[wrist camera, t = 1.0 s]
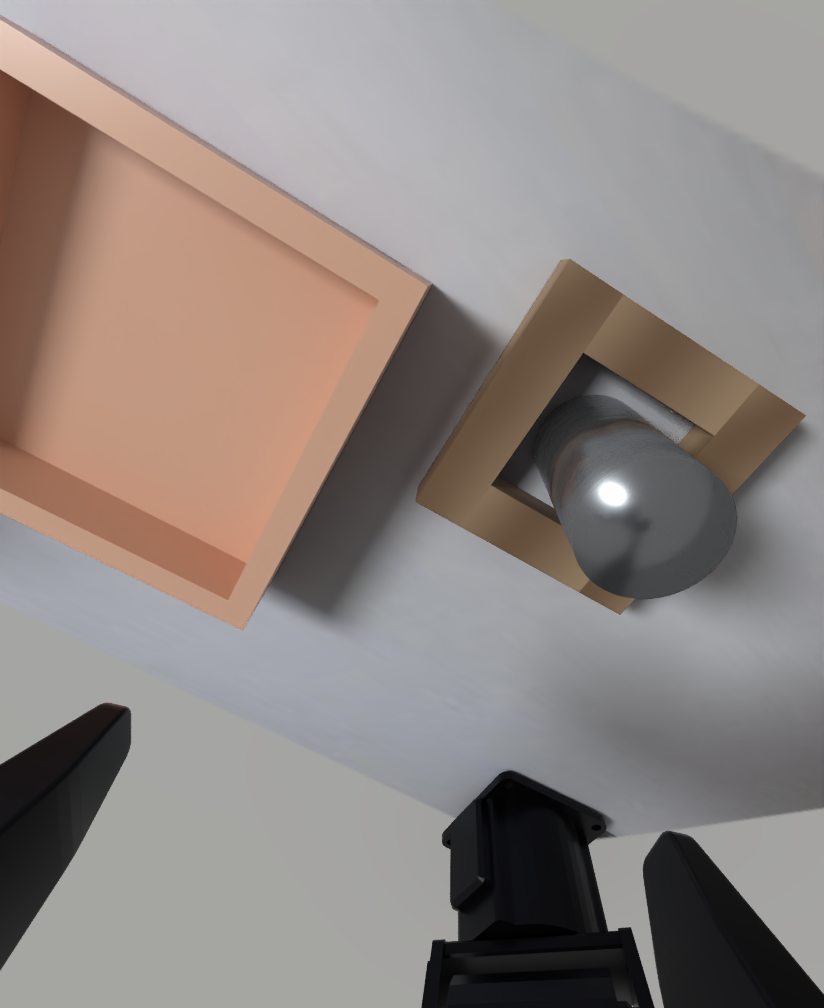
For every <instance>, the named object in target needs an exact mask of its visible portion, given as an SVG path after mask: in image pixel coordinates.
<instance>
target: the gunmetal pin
mask: <svg viewBox="0 0 824 1008" xmlns="http://www.w3.org/2000/svg"><path fill="white" fill-rule="evenodd" d="M534 454H535V461H536V465H537V468H538V470H539V473H540V475H541V477H542V480H543V482H544V484H545V487H546V489H547V491H548V494H549V496H550V499H551V501H552V503H553V506H554V508H555V510H556V513H557V515H558V517H559V520H560V522H561V525H562V527H563V529H564V532H565V534H566V536H567V539H568V541H569V544H570V546H571V548H572V551H573V553H574V555H575V558H576V560H577V562H578V565H579V566H580V568H581V570H582V571H583V573H584V574H585V575H586V576H587V577H588V578H589V579H590V580H591V581H592V582H593V583H594V584H596V585H597V586H599V587H600V588H602V589H603V590H606V591H608V592H610V593H612V594H615V595H618V596H622V597H627V598H634V599H652V598H660V597H664V596H668V595H672V594H675V593H678V592H680V591H683V590H685V589H687V588H689V587H691V586H693V585H694V584H696V583H698V582H699V581H701V580H702V579H703V578H705V577H706V576H707V575H708V574H710V573H711V572H712V571H713V570H714V569H715V568H716V567H717V566H718V564H719V563H720V562H721V561H722V559H723V558H724V556H725V555H726V554H727V552H728V550H729V548H730V546H731V544H732V541H733V538H734V535H735V530H736V523H737V514H736V507H735V503H734V500H733V497H732V495H731V493H730V491H729V489H728V488H727V487H726V485H725V484H724V482H723V481H722V480H721V479H720V478H719V477H718V476H716V475H715V474H714V473H713V472H711V471H710V470H709V469H708V468H706V467H705V466H704V465H702V464H701V463H700V462H699V461H697V460H696V459H695V458H693V457H692V456H691V455H690V454H688V453H687V452H686V451H685V450H683V449H682V448H681V447H679V446H678V445H677V444H676V443H674V442H673V441H672V440H670V439H669V438H668V437H667V436H665V435H664V434H663V433H662V432H660V431H659V430H658V429H656V428H655V427H654V426H653V425H651V424H650V423H649V422H647V421H646V420H645V419H644V418H642V417H641V416H640V415H638V414H637V413H636V412H635V411H633V410H632V409H631V408H630V407H628V406H627V405H626V404H624V403H623V402H621V401H619V400H617V399H614V398H612V397H608V396H603V395H587V396H582V397H578V398H575V399H572V400H570V401H568V402H566V403H564V404H562V405H561V406H559V407H558V408H557V409H555V410H554V411H553V412H552V413H551V414H550V415H549V416H548V417H547V419H546V420H545V421H544V423H543V424H542V426H541V428H540V430H539V432H538V434H537V438H536V441H535V449H534Z"/></svg>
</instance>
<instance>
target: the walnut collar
mask: <svg viewBox="0 0 824 1008" xmlns="http://www.w3.org/2000/svg"><path fill="white" fill-rule="evenodd" d="M583 353H585V354H586V355H588V356H589V357H591V358H593V359H594V360H596V361H597V362H599V363H600V364H602V365H604V366H605V367H607V368H608V369H610V370H612V371H613V372H615V373H616V374H618V375H619V376H621V377H623V378H624V379H626V380H627V381H629V382H630V383H632V384H634V385H635V386H637V387H638V388H640V389H641V390H643V391H645V392H646V393H648V394H649V395H651V396H653V397H654V398H656V399H657V400H659V401H660V402H662V403H664V404H665V405H667V406H668V407H670V408H671V409H673V410H675V411H676V412H678V413H679V414H681V415H682V416H684V417H686V418H687V419H689V420H690V421H692V422H693V423H695V425H694V427H693V428H692V429H691V430H690V431H689V432H688V434H687V435H686V436H685V437H684V438H683V440H682V441H681V442H680V443H679V444H678V446H679V447H681V448H682V449H683V450H685V451H686V452H687V453H688V454H690V455H691V456H692V457H693V458H695V459H696V460H697V461H699V462H700V463H701V464H702V465H704V466H705V467H706V468H708V469H709V470H710V471H711V472H713V473H714V474H715V475H716V476H718V477H719V478H720V479H721V480H722V481H723V482H724V484H725V485H726V487H727V488H728V489H729V491H730V493H731V495H732V494H733V493H734V492H735V491H736V490H737V489H738V488H739V487H740V486H741V485H742V484H743V483H744V482H745V480H746V479H747V478H748V477H749V476H750V475H751V474H752V473H753V472H754V471H755V470H756V469H757V468H758V467H759V465H760V464H761V463H762V462H763V461H764V460H765V459H766V458H767V457H768V456H769V455H770V454H771V453H772V452H773V450H774V449H775V448H776V447H777V446H778V445H779V444H780V443H781V442H782V441H783V440H784V439H785V438H786V436H787V435H788V434H789V433H790V432H791V431H792V430H793V429H794V428H795V427H796V426H797V425H798V424H799V423H800V421H801V420H802V419H803V418H804V417H805V416H806V415H804V414H803V413H801V412H800V411H798V410H797V409H795V408H794V407H792V406H791V405H789V404H788V403H786V402H785V401H783V400H782V399H780V398H779V397H777V396H776V395H774V394H773V393H771V392H770V391H768V390H767V389H765V388H764V387H762V386H761V385H759V384H758V383H756V382H755V381H753V380H752V379H750V378H749V377H747V376H746V375H744V374H743V373H741V372H740V371H738V370H737V369H735V368H734V367H732V366H731V365H729V364H728V363H726V362H724V361H723V360H721V359H720V358H718V357H717V356H715V355H714V354H712V353H711V352H709V351H708V350H706V349H705V348H703V347H702V346H700V345H699V344H697V343H696V342H694V341H693V340H691V339H690V338H688V337H687V336H685V335H684V334H682V333H681V332H679V331H678V330H676V329H675V328H673V327H672V326H670V325H669V324H667V323H666V322H664V321H663V320H661V319H660V318H658V317H657V316H655V315H654V314H652V313H651V312H649V311H648V310H646V309H645V308H643V307H642V306H640V305H638V304H637V303H635V302H634V301H632V300H631V299H629V298H628V297H626V296H625V295H623V294H622V293H620V292H619V291H617V290H616V289H614V288H613V287H611V286H610V285H608V284H607V283H605V282H604V281H602V280H601V279H599V278H598V277H596V276H595V275H593V274H592V273H590V272H589V271H587V270H586V269H584V268H583V267H581V266H580V265H578V264H577V263H575V262H574V261H572V260H571V259H568V260H561V261H560V262H559V264H558V266H557V267H556V269H555V270H554V272H553V274H552V275H551V277H550V278H549V280H548V281H547V283H546V285H545V286H544V288H543V289H542V291H541V293H540V294H539V296H538V297H537V299H536V301H535V302H534V304H533V305H532V307H531V308H530V310H529V312H528V313H527V315H526V316H525V318H524V320H523V321H522V323H521V324H520V326H519V328H518V329H517V331H516V332H515V334H514V335H513V337H512V339H511V340H510V342H509V343H508V345H507V347H506V348H505V350H504V351H503V353H502V355H501V356H500V358H499V359H498V361H497V362H496V364H495V366H494V367H493V369H492V370H491V372H490V374H489V375H488V377H487V378H486V380H485V382H484V383H483V385H482V386H481V388H480V389H479V391H478V393H477V394H476V396H475V397H474V399H473V401H472V402H471V404H470V405H469V407H468V409H467V410H466V412H465V413H464V415H463V416H462V418H461V420H460V421H459V423H458V424H457V426H456V428H455V429H454V431H453V432H452V434H451V435H450V437H449V439H448V440H447V442H446V443H445V445H444V447H443V448H442V450H441V451H440V453H439V455H438V456H437V458H436V459H435V461H434V462H433V464H432V466H431V467H430V469H429V470H428V472H427V474H426V475H425V477H424V478H423V480H422V482H421V483H420V485H419V486H418V491H417V497H416V502H417V503H419V504H420V505H422V506H424V507H426V508H428V509H429V510H431V511H433V512H435V513H437V514H439V515H440V516H442V517H444V518H446V519H448V520H449V521H451V522H453V523H455V524H457V525H458V526H460V527H462V528H464V529H466V530H467V531H469V532H471V533H473V534H475V535H476V536H478V537H480V538H482V539H484V540H486V541H487V542H489V543H491V544H493V545H495V546H496V547H498V548H500V549H502V550H504V551H505V552H507V553H509V554H511V555H513V556H514V557H516V558H518V559H520V560H522V561H524V562H525V563H527V564H529V565H531V566H533V567H534V568H536V569H538V570H540V571H542V572H543V573H545V574H547V575H549V576H551V577H552V578H554V579H556V580H558V581H560V582H562V583H563V584H565V585H567V586H569V587H571V588H572V589H574V590H576V591H578V592H580V593H581V594H583V595H585V596H587V597H589V598H590V599H592V600H594V601H596V602H598V603H599V604H601V605H603V606H605V607H607V608H609V609H610V610H612V611H614V612H616V613H618V614H619V615H621V614H622V612H623V611H624V610H625V609H626V608H627V607H628V606H629V605H630V604H631V603H632V602H633V601H634V600H635V599H634V598H627V597H622V596H618V595H615V594H612V593H610V592H608V591H606V590H603V589H602V588H600V587H599V586H597V585H596V584H594V583H593V582H592V581H591V580H590V579H589V578H588V577H587V576H586V575H585V574H584V573H583V571H582V570H581V568H580V566H579V565H578V562H577V560H576V558H575V555H574V553H573V551H572V548H571V546H570V544H569V541H568V539H567V536H566V534H565V532H564V529H563V527H562V525H561V522H560V520H559V517H558V515H557V513H556V510H555V509H554V508H552V507H550V506H549V505H547V504H545V503H543V502H542V501H540V500H538V499H536V498H535V497H533V496H531V495H529V494H528V493H526V492H524V491H523V490H521V489H519V488H517V487H516V486H514V485H512V484H510V483H509V482H507V481H505V480H503V479H502V478H500V477H498V474H499V473H500V471H501V470H502V469H503V467H504V466H505V464H506V463H507V461H508V460H509V459H510V457H511V456H512V454H513V453H514V451H515V450H516V448H517V447H518V446H519V444H520V443H521V441H522V440H523V438H524V437H525V436H526V434H527V433H528V431H529V430H530V428H531V427H532V426H533V424H534V423H535V421H536V420H537V418H538V417H539V415H540V414H541V413H542V411H543V410H544V408H545V407H546V405H547V404H548V403H549V401H550V400H551V398H552V397H553V395H554V394H555V393H556V391H557V390H558V388H559V387H560V385H561V384H562V382H563V381H564V380H565V378H566V377H567V375H568V374H569V372H570V371H571V370H572V368H573V367H574V365H575V364H576V362H577V361H578V360H579V358H580V357H581V355H582V354H583Z"/></svg>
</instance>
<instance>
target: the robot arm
mask: <svg viewBox="0 0 824 1008" xmlns="http://www.w3.org/2000/svg"><path fill="white" fill-rule="evenodd" d="M130 745H131V711H130V709H129V708H128V707H125V706H121V705H117V704H112V703H103V704H100V705H98V706H97V707H95V708H93V709H92V710H90V711H88V712H87V713H85V714H83V715H82V716H80V717H78V718H77V719H75V720H73V721H72V722H70V723H68V724H67V725H65V726H64V727H62V728H60V729H58V730H57V731H55V732H54V733H52V734H50V735H49V736H47V737H45V738H43V739H42V740H40V741H38V742H37V743H35V744H34V745H32V746H30V747H29V748H27V749H25V750H24V751H22V752H20V753H19V754H17V755H15V756H14V757H12V758H10V759H9V760H7V761H5V762H4V763H2V764H0V970H1V969H2V967H3V966H4V964H5V962H6V961H7V959H8V958H9V956H10V955H11V953H12V952H13V950H14V949H15V947H16V946H17V944H18V942H19V941H20V939H21V938H22V936H23V935H24V933H25V932H26V930H27V928H28V927H29V925H30V924H31V922H32V921H33V919H34V918H35V916H36V915H37V913H38V912H39V910H40V908H41V907H42V905H43V904H44V902H45V901H46V899H47V898H48V896H49V895H50V893H51V892H52V890H53V889H54V887H55V885H56V884H57V882H58V881H59V879H60V878H61V876H62V875H63V873H64V871H65V870H66V868H67V867H68V865H69V863H70V861H71V860H72V858H73V857H74V855H75V853H76V852H77V850H78V848H79V846H80V844H81V842H82V841H83V839H84V837H85V835H86V833H87V831H88V829H89V827H90V825H91V823H92V821H93V820H94V818H95V816H96V814H97V812H98V810H99V808H100V806H101V804H102V803H103V801H104V799H105V797H106V795H107V793H108V791H109V789H110V787H111V785H112V784H113V782H114V780H115V778H116V776H117V774H118V772H119V770H120V768H121V766H122V764H123V763H124V760H125V759H126V757H127V754H128V752H129V749H130ZM605 830H606V824H605V820H604V818H603V817H602V816H601V815H599V814H597V813H595V812H593V811H591V810H589V809H587V808H585V807H583V806H581V805H578V804H576V803H574V802H572V801H570V800H568V799H566V798H564V797H562V796H560V795H558V794H556V793H554V792H551V791H549V790H547V789H545V788H543V787H541V786H539V785H537V784H535V783H533V782H531V781H529V780H527V779H524V778H522V777H520V776H518V775H516V774H514V773H512V772H502V773H501V774H499V775H498V776H497V777H496V778H495V779H494V780H493V781H492V782H491V783H490V784H489V785H488V786H487V787H486V788H485V790H484V791H483V792H482V793H481V794H480V795H479V796H478V797H477V798H476V799H474V800H473V801H472V802H471V803H470V805H469V806H468V807H467V808H466V809H465V810H464V811H463V812H462V813H461V814H460V815H459V816H458V817H457V818H456V819H455V820H454V821H453V822H452V823H451V825H450V826H449V827H448V828H447V829H446V830H445V831H444V832H443V834H442V844H443V845H444V846H445V847H447V848H449V849H451V863H450V865H451V866H450V902H451V906H452V908H453V909H454V910H456V911H458V941H452V942H446V941H445V939H444V940H433V942H432V950H431V957H430V961H428V963H427V971H426V979H425V986H424V993H423V1000H422V1008H654V1005H653V1001H652V998H651V995H650V991H649V988H648V984H647V981H646V977H645V974H644V970H643V967H642V964H641V960H640V957H639V953H638V950H637V947H636V943H635V940H634V937H633V933H632V930H631V928H630V927H629V928H618V931H609V932H608V929H607V924H606V920H605V916H604V912H603V907H602V903H601V899H600V894H599V890H598V886H597V882H596V877H595V873H594V869H593V864H592V860H591V856H590V852H589V847H588V845H589V844H590V843H591V842H592V841H593V840H595V839H596V838H597V837H598V836H599V835H601V834H602V833H603V832H604V831H605ZM643 878H644V885H645V892H646V899H647V906H648V913H649V919H650V926H651V933H652V940H653V947H654V954H655V962H656V968H657V974H658V980H659V986H660V990H661V995H662V1000H663V1005H664V1008H824V994H823V993H822V992H821V990H820V989H819V988H818V987H817V986H816V984H815V983H814V982H813V981H812V980H811V978H810V977H809V976H808V975H807V974H806V972H805V971H804V970H803V969H802V968H801V966H800V965H799V964H798V963H797V962H796V960H795V959H794V958H793V957H792V956H791V954H790V953H789V952H788V951H787V950H786V949H785V947H784V946H783V945H782V944H781V942H780V941H779V940H778V939H777V938H776V937H775V935H774V934H773V933H772V932H771V931H770V929H769V928H768V927H767V926H766V925H765V923H764V922H763V921H762V920H761V919H760V918H759V916H758V915H757V914H756V913H755V911H754V910H753V909H752V908H751V907H750V905H749V904H748V903H747V902H746V901H745V899H744V898H743V897H742V896H741V895H740V893H739V892H738V891H737V890H736V889H735V888H734V886H733V885H732V884H731V883H730V882H729V880H728V879H727V878H726V877H725V875H724V874H723V873H722V872H721V871H720V870H719V868H718V867H717V866H716V865H715V864H714V863H713V861H712V860H711V859H710V858H709V856H708V855H707V854H706V853H705V852H704V850H703V849H702V848H701V847H700V846H699V844H698V843H697V842H696V841H695V840H694V839H693V838H692V837H690V836H688V835H685V834H681V833H677V832H672V831H665V832H663V833H662V834H661V835H660V837H659V838H658V840H657V841H656V843H655V844H654V846H653V847H652V849H651V850H650V852H649V853H648V855H647V856H646V858H645V860H644V864H643ZM632 1005H633V1007H632Z"/></svg>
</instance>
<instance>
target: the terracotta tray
mask: <svg viewBox="0 0 824 1008" xmlns="http://www.w3.org/2000/svg"><path fill="white" fill-rule="evenodd" d="M432 284H433V283H431V282H429V281H428V280H426V279H425V278H423V277H421V276H420V275H418V274H417V273H415V272H413V271H412V270H410V269H409V268H407V267H405V266H404V265H402V264H401V263H399V262H397V261H396V260H394V259H393V258H391V257H389V256H388V255H386V254H385V253H383V252H381V251H380V250H378V249H377V248H375V247H373V246H372V245H370V244H369V243H367V242H365V241H364V240H362V239H361V238H359V237H357V236H356V235H354V234H353V233H351V232H349V231H348V230H346V229H345V228H343V227H341V226H340V225H338V224H337V223H335V222H333V221H332V220H330V219H329V218H327V217H325V216H324V215H322V214H321V213H319V212H317V211H316V210H314V209H313V208H311V207H309V206H308V205H306V204H305V203H303V202H301V201H300V200H298V199H297V198H295V197H294V196H292V195H290V194H289V193H287V192H286V191H284V190H282V189H281V188H279V187H278V186H276V185H274V184H273V183H271V182H270V181H268V180H266V179H265V178H263V177H262V176H260V175H258V174H257V173H255V172H254V171H252V170H250V169H249V168H247V167H246V166H244V165H242V164H241V163H239V162H238V161H236V160H234V159H233V158H231V157H230V156H228V155H226V154H225V153H223V152H222V151H220V150H218V149H217V148H215V147H214V146H212V145H210V144H209V143H207V142H206V141H204V140H202V139H201V138H199V137H198V136H196V135H194V134H193V133H191V132H190V131H188V130H186V129H185V128H183V127H182V126H180V125H178V124H177V123H175V122H174V121H172V120H170V119H169V118H167V117H166V116H164V115H162V114H161V113H159V112H158V111H156V110H154V109H153V108H151V107H150V106H148V105H146V104H145V103H143V102H142V101H140V100H138V99H137V98H135V97H134V96H132V95H131V94H129V93H127V92H126V91H124V90H123V89H121V88H119V87H118V86H116V85H115V84H113V83H111V82H110V81H108V80H107V79H105V78H103V77H102V76H100V75H99V74H97V73H95V72H94V71H92V70H91V69H89V68H87V67H86V66H84V65H83V64H81V63H79V62H78V61H76V60H75V59H73V58H71V57H70V56H68V55H67V54H65V53H63V52H62V51H60V50H59V49H57V48H55V47H54V46H52V45H51V44H49V43H47V42H46V41H44V40H43V39H41V38H39V37H38V36H36V35H35V34H33V33H31V32H30V31H28V30H26V29H24V28H23V27H21V26H19V25H17V24H15V23H14V22H12V21H10V20H8V19H7V18H5V17H3V16H1V15H0V513H1V514H3V515H5V516H7V517H10V518H12V519H14V520H16V521H18V522H20V523H22V524H24V525H26V526H28V527H30V528H32V529H34V530H36V531H38V532H40V533H42V534H45V535H47V536H49V537H51V538H53V539H55V540H57V541H59V542H61V543H63V544H65V545H67V546H69V547H71V548H73V549H75V550H78V551H80V552H82V553H84V554H86V555H88V556H90V557H92V558H94V559H96V560H98V561H100V562H102V563H104V564H106V565H108V566H111V567H113V568H115V569H117V570H119V571H121V572H123V573H125V574H127V575H129V576H131V577H133V578H135V579H137V580H139V581H141V582H143V583H146V584H148V585H150V586H152V587H154V588H156V589H158V590H160V591H162V592H164V593H166V594H168V595H170V596H172V597H174V598H176V599H179V600H181V601H183V602H185V603H187V604H189V605H191V606H193V607H195V608H197V609H199V610H201V611H203V612H205V613H207V614H209V615H212V616H214V617H216V618H218V619H220V620H222V621H224V622H226V623H228V624H230V625H232V626H234V627H236V628H238V629H240V630H242V631H243V629H244V628H245V626H246V624H247V622H248V621H249V619H250V617H251V616H252V614H253V612H254V611H255V609H256V607H257V605H258V604H259V602H260V600H261V599H262V597H263V595H264V594H265V592H266V590H267V588H268V587H269V585H270V583H271V582H272V580H273V578H274V576H275V574H276V572H277V571H278V569H279V567H280V565H281V563H282V561H283V559H284V558H285V556H286V554H287V552H288V550H289V548H290V546H291V545H292V543H293V541H294V539H295V537H296V535H297V534H298V532H299V530H300V528H301V526H302V524H303V522H304V521H305V519H306V517H307V515H308V513H309V511H310V509H311V508H312V506H313V504H314V502H315V500H316V498H317V496H318V495H319V493H320V491H321V489H322V487H323V485H324V484H325V482H326V480H327V478H328V476H329V474H330V472H331V471H332V469H333V467H334V465H335V463H336V461H337V459H338V458H339V456H340V454H341V452H342V450H343V448H344V446H345V445H346V443H347V441H348V439H349V437H350V435H351V434H352V432H353V430H354V428H355V426H356V424H357V422H358V421H359V419H360V417H361V415H362V413H363V411H364V409H365V408H366V406H367V404H368V402H369V400H370V398H371V397H372V395H373V393H374V391H375V389H376V387H377V385H378V384H379V382H380V380H381V378H382V376H383V374H384V372H385V371H386V369H387V367H388V365H389V363H390V361H391V359H392V358H393V356H394V354H395V352H396V350H397V348H398V347H399V345H400V343H401V341H402V339H403V337H404V335H405V334H406V332H407V330H408V328H409V326H410V324H411V322H412V321H413V319H414V317H415V315H416V313H417V311H418V309H419V308H420V306H421V304H422V302H423V300H424V298H425V297H426V295H427V293H428V291H429V289H430V287H431V285H432Z"/></svg>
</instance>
